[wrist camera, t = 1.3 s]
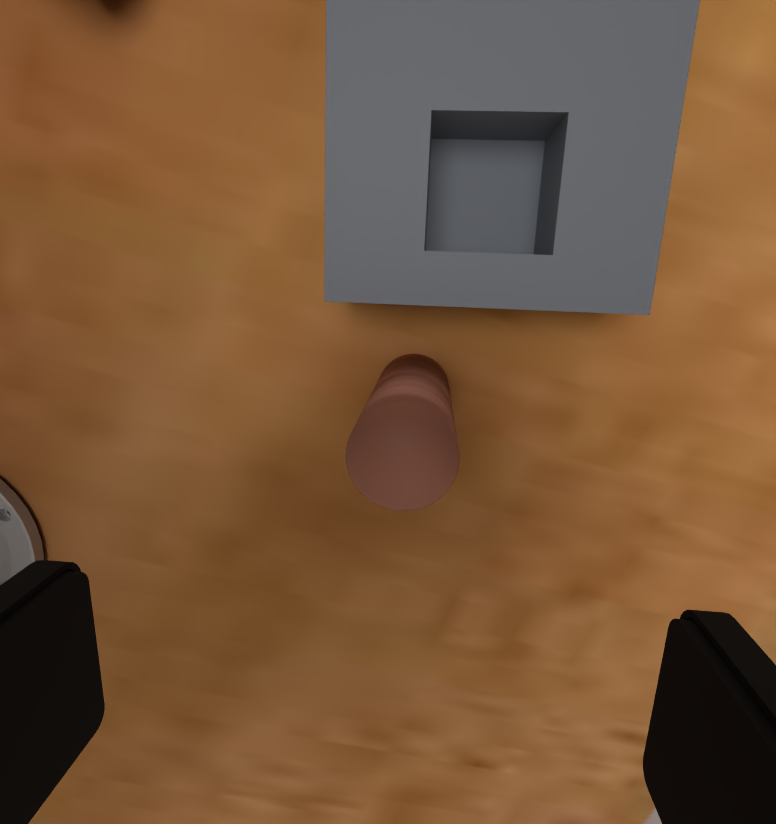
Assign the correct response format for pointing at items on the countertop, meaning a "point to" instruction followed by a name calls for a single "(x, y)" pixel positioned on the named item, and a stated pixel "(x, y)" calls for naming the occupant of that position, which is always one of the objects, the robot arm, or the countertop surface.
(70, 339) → the countertop surface
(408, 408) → the pin
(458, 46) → the bore block
